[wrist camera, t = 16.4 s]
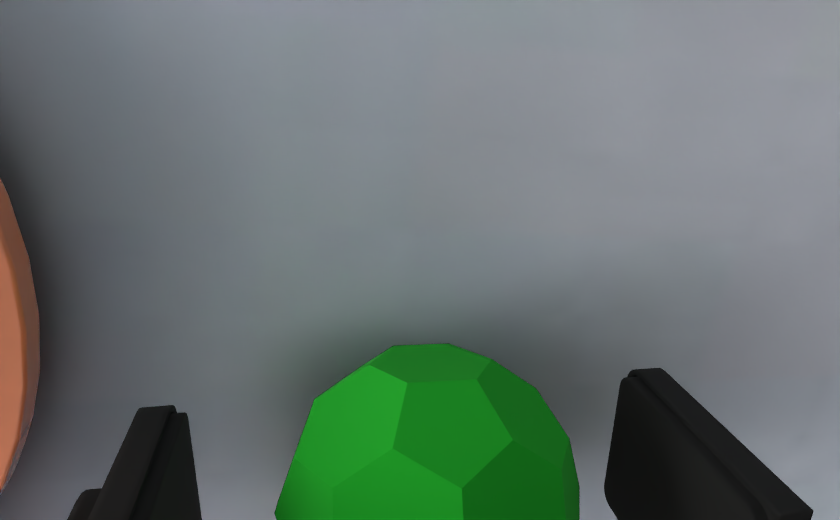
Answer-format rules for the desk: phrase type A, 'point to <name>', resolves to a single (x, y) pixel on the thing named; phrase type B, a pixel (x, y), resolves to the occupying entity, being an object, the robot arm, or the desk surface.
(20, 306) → the pot lid
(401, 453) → the polyhedron
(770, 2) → the desk surface
